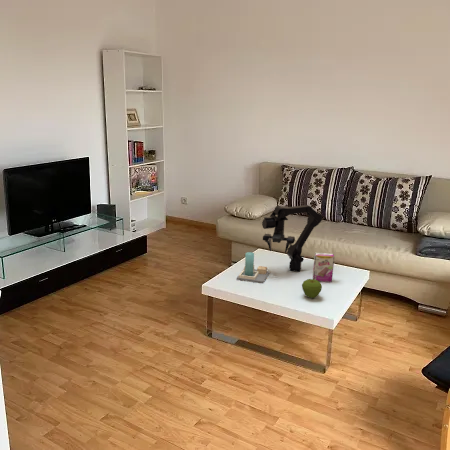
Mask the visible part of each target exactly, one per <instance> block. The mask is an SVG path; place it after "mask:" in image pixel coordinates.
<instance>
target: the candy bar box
mask: <svg viewBox="0 0 450 450" xmlns="http://www.w3.org/2000/svg"><path fill="white" fill-rule="evenodd" d="M334 263H335V254H334V253H330V252H329V253H325V252H314V258H313V270H312V279H314V280H317V281H319V282H325V283H332V282H333V274H334Z"/></svg>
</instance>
